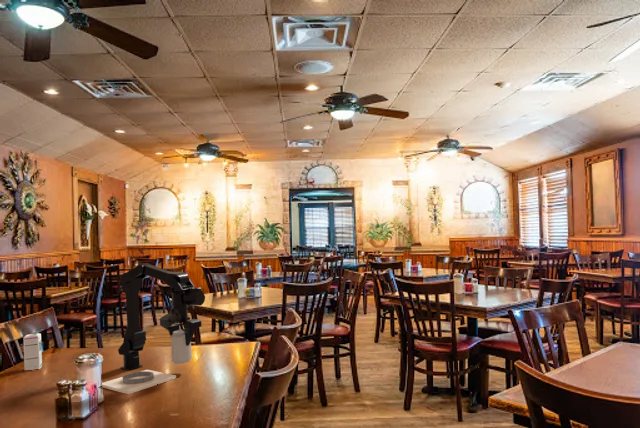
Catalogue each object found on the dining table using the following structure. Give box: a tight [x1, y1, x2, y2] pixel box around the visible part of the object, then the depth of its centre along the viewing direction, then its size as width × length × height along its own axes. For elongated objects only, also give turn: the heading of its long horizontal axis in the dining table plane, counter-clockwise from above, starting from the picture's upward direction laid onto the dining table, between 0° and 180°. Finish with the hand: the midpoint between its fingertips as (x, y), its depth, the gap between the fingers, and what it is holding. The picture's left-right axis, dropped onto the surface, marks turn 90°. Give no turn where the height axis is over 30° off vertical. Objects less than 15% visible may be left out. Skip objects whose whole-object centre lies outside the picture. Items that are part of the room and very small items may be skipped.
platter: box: [101, 369, 177, 395], centre depth 177 cm, size 18×20×2 cm
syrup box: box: [23, 332, 43, 371], centre depth 203 cm, size 6×6×14 cm
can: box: [170, 329, 192, 364], centre depth 187 cm, size 8×8×12 cm
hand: (181, 344), depth 187 cm, fingers closed on can, 7 cm apart
